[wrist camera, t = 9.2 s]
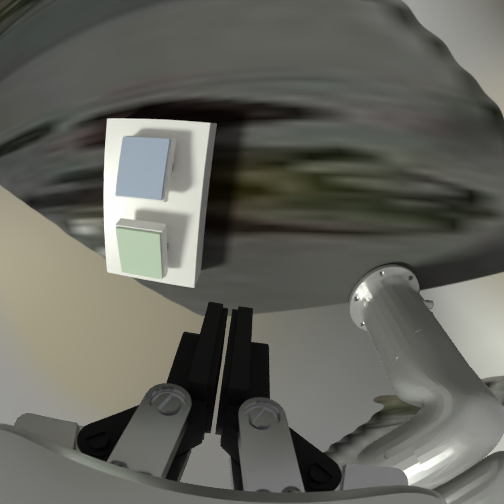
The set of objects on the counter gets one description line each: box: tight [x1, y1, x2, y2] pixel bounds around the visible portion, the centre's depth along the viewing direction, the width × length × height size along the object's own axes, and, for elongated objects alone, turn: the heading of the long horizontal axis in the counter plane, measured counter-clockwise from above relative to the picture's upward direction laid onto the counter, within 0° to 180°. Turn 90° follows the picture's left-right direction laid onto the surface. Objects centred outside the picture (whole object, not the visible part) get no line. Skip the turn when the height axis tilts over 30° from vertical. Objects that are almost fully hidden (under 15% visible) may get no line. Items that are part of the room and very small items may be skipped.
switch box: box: [104, 119, 217, 288], centre depth 36 cm, size 13×21×6 cm, turn 171°
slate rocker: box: [115, 136, 176, 202], centre depth 30 cm, size 6×7×2 cm
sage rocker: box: [115, 218, 168, 279], centre depth 34 cm, size 6×7×2 cm
